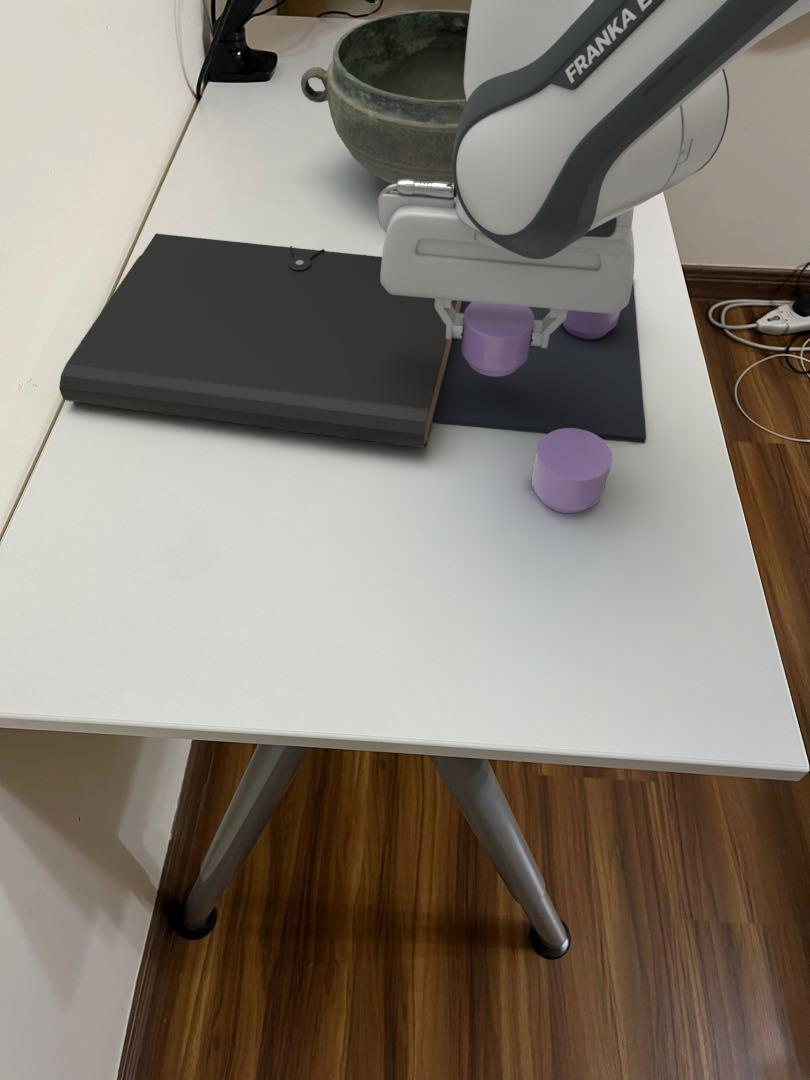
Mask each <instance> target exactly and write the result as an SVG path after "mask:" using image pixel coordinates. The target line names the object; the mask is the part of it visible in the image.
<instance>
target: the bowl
mask: <svg viewBox="0 0 810 1080" xmlns="http://www.w3.org/2000/svg"><path fill="white" fill-rule="evenodd" d="M469 16H470V10H461V9H439V8H433V9H432V8H431V9H429V8H428V9H415V10H404V11H400V12H393V13H389V14H384V15H381V16H376V17H373V18H370V19H368V20H366V21H362V22H361V23H359V24H357V25H356V26H354V27H352V28H350V29H348V30H347V31H346V32H345V33H344V34H343V35H341V37H339V39H338V41H337V42H336V44H335V45H334V48H333V52H332V61H331V62H330V63H329V65H328V67H327V70H326V69H324V68H323V67H321V66H312V67H310V68H308V69H307V70H306V71H305V72H304V73H303V74H302V75H301V78H300V79H301V80H300V87H301V92H302V93H303V96H304V97H305V98H306V99H308V100H309V101H311V102H314V103H323V102H327V103H328V108H329V111H330V112H329V113H330V117H331V120H332V123H333V126H334V130H335V131H336V133H337V135H338V137H339V138H340V140H341V141H342V143H343V144H344V146H345V148H346V150H348V152H349V153H350V154H351V156H352V157H353V158H354V160H355V161H356V162H358V164H360V166H362V167H363V168H364V169H366V170H367V171H368V172H370V173H371V174H372V175H374V176H376V177H378V178H379V179H381V183H382V186H383V187H384V188H386V187H387V186H389V185H392V184H397V181H398V180H399V179H414V180H415V181H424V182H425V181H428V182H429V181H442V182H454V178H453V151H454V143H455V138H456V133H457V129H458V125H459V121H460V118H461V115H462V112H463V109H464V107H465V104H466V102H467V100H466V95H465V91H464V66H465V52H466V41H467V32H468V23H469ZM313 78H314V79H318V80H320V81H321V82H322V85H323V87H324V90H315V89H314V88H312V86H311V85H310V82H309V80H310V79H313ZM392 191H397V189H395V190H392Z"/></svg>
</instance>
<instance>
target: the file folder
mask: <svg viewBox="0 0 810 1080" xmlns="http://www.w3.org/2000/svg"><path fill="white" fill-rule="evenodd" d="M381 261H382V256H378V255H370V254H369V255H368V254H358V253H349V252H348V253H347V252H338V251H330V250H329V251H328V250H326V249H325V248H323V249H309V248H301V247H300V248H299V247H293V246H292V245H290V246H280V245H271V244H262V243H261V244H260V243H251V242H242V241H233V240H224V239H223V240H222V239H213V238H212V239H211V238H204V237H193V236H184V235H176V234H164V233H154V235H153V237H152V238H151V240H150V242H149V243H148V244H147V246H146V247H145V249H144V251H143V252H142V254H140V255H139V256H138V257H137V259H136V260H135V262H133V264H132V265H131V267H130V269H129V270H128V272H127V273H126V274H125V276H124V278H123V279H122V281H121V282H120V284H119V285H118V287H117V288H116V289H115V291H114V292H113V294H112V295H111V297H110V298H109V300H108V302H107V303H106V304H105V306H104V307H103V309H102V310H101V312H100V313H99V315H98V316H97V318H96V319H95V320H94V322H93V324H92V325H91V326H90V328H89V329H88V331H87V332H86V334H85V335H84V337H83V338H82V339H81V341H80V343H79V344H78V346H77V347H76V348H75V350H74V351H73V353H72V354H71V356H70V357H69V359H68V360H67V362H66V363H65V364H64V368H63V370H62V371H61V373H60V374H61V375H60V379H59V392H60V395H61V398H62V400H64V401H67V402H71V403H77V404H79V403H80V404H88V405H94V406H102V407H110V408H117V409H118V408H119V409H125V410H132V411H139V412H147V413H155V414H162V415H170V416H178V417H185V418H192V419H193V418H194V419H199V420H200V419H202V420H209V421H215V422H216V421H217V422H223V423H231V424H240V425H246V426H247V425H248V426H253V427H262V428H270V429H278V430H284V431H292V432H298V433H299V432H300V433H309V434H315V435H322V436H323V435H324V436H331V437H338V438H347V439H352V440H353V439H355V440H361V441H369V442H376V443H384V444H392V445H398V446H408V447H413V448H421V449H426V447H427V444H428V441H429V437H430V433H431V429H432V425H433V423H434V422H433V418H434V414H435V410H436V406H437V402H438V398H439V394H440V390H441V386H442V382H443V378H444V374H445V370H446V366H447V362H448V358H449V354H450V350H451V346H452V342H453V340H449V339H446V324H445V323H444V322H443V320H442V319H441V317H440V315H439V314H438V312H437V311H436V309H435V298H424V297H412V296H401V295H392V294H389V293H388V292H387V290H386V289H385V288H384V287H383V285H382V284H381V282H380V275H381ZM462 302H463V301H458V300H452V303H451V304H452V306H453V308H454V310H455V312H456V313H460V310H461V306H462Z"/></svg>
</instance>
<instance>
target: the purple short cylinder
mask: <svg viewBox="0 0 810 1080" xmlns="http://www.w3.org/2000/svg"><path fill="white" fill-rule="evenodd" d="M612 463H613V453H612V449H610V446H609V445H608V443H607V442H606V440H605V439H601V438H600V437H598V436H597V435H595V434H593V433H591V432H589V431H586V430H582V429H577V428H563V429H558V430H555V431H552V432H550V433H546V434H545V435H544V436H543V437H542V438H541V440H540V441H539V443H538V445H537V449H536V455H535V459H534V464H533V470H532V475H531V485H532V489H533V492H534V493H535V494H536V495H537V497H538V498H539V499H540V501H541V502H542V503H543V504H544V505H545V506H546V507H548V508H549V509H551V510H553V511H555V512H558V513H564V514H576V513H581V512H583V511H585V510H587V509H589V508H591V507H593V506H594V505H596V504H597V503H598V502H599V501H600V500H601V498H602V497H603V495H604V491H605V488H606V484H607V480H608V478H609V474H610V471H611V467H612Z"/></svg>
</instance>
